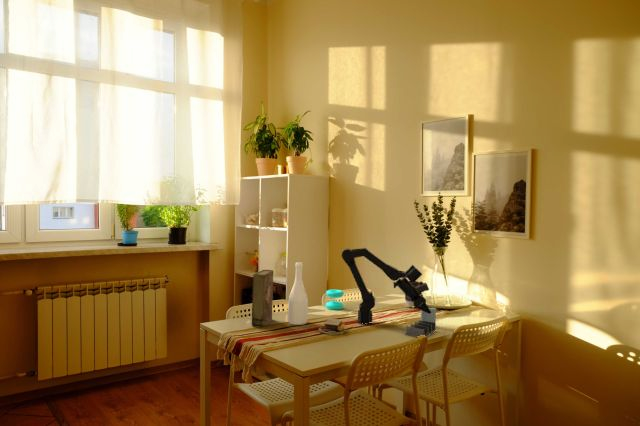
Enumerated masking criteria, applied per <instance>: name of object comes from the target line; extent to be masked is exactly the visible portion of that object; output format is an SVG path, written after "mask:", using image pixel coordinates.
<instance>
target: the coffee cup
mask: <svg viewBox="0 0 640 426" xmlns="http://www.w3.org/2000/svg"><path fill="white" fill-rule="evenodd" d="M408 281H409V282H410V283H411V284H412V285H414V286H415V287H416V286H418V285H419V282H420V281H417V280H416V281H415V282H414V281H413V282H411V281H410V280H408ZM404 300H405V306H406V305H409V306H414V305H413V302H412V301H411V300H410V299H409V298H408V297H407V296H406V295H405V294H404Z"/></svg>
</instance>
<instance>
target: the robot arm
mask: <svg viewBox="0 0 640 426" xmlns="http://www.w3.org/2000/svg"><path fill="white" fill-rule="evenodd" d="M361 257H364V258H365V259H367V260H368V261H369V262H371V263H372V264H373V265H375V266H376V267H378V268H379V269H380V270H381V271H382V272H383V273H384V274H385V275H386V276H387V277H388V278H389V279H390V280H391V281H393V282H392V284H393V289H396V288H397V287H398V289H400V290H401V291H402V292H403V294H404V296H405V295H406V296H407V297H408V298H409V299H410V300H411V301H412V302H413V305H414V306H415V307H416V308H415V309H417V310H420V311H421V310H422V311H424V312H426V313H429V314H430V313H431V311H430V310H429V308H430V307H428V305H427V299H426V298H425V297H424V295H423V292H428V291H429V290H430V288H429V285H428V284H427V282H423V281H418V282H419V285H418V286H416V287H415V286H414V285H412V284H411V283H410V282H409V281H411V282H413V281H414V282H415V281H417V280H418V279H419V278H420V277H422V276H423V273H422V272H421V271H420V270H419V269H418V268H417V267H416V266H415V265H414V264H411V265H410V267H409V268H407V270H406V271H404V270H399V269H398V268H396V267H395V266H393V265H391V264H388V263H386V262H385V261H383V260H382V259H381V258H379V257H378V256H377V255H375V254H374V253H372V251H370V250H369V249H368V248H366V247H362V248H353V249H351V248H349V247H348V248H344V249H343V250H342V252H341V258H342V260H343V261H344V263H345V264H346V265H347V267H348V269H349V270H350V272H351V274H352V277H353V279H354V281H355V283H356V285H357V287H358V290H359V292H360V295H361V300H362V302H361V303H359V305H358V306H359V307H358V308H359V310H357V320H356V321H357V322H356V323H358V322H359V323H358V324H360V323H361V324H360V325H366V324H365V323H369V322H373V313H372V309H374V308H375V306H376V297H375V296H374V293H373V291H372V290H371V291H370V290H369V288H367V285H366V284H365V283H366V282H365V281H364V279H363V277H362V274H361V272H360V270H359V268H358V266H357V263H356V259H357V258H361ZM355 258H356V259H355ZM362 323H363V324H362Z"/></svg>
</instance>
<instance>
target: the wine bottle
mask: <svg viewBox="0 0 640 426" xmlns="http://www.w3.org/2000/svg"><path fill="white" fill-rule="evenodd" d="M303 267H304V264H303V262H301V261H300V262H299V261H298V262H295V276H294V277H295V278H294V282H293V285H292V287H291V291H290V293H289V296H288V305H287V306H288V307H287V308H288V309H287V310H288V311H287V321H288V324H290V325H293V326H294V325H295V326H302V325H305V324H307V322H308V309H309V307H308V306H309V305H308V303H309V300H308V295H307V292H306V288H305V285H304V282H303Z"/></svg>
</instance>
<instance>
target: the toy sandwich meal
mask: <svg viewBox="0 0 640 426" xmlns="http://www.w3.org/2000/svg"><path fill="white" fill-rule="evenodd" d="M342 322H343V321H342V320H341V319H338V318H337V319H336V318H326V321H325V322H324V326H321V327H319V328H318V331H319V332H320V333H321V332H322V334H324V333H325V334H324V335H329V334H332V335H331V336H333V334H334V335H336V336H338V335H342V334H344V333H346V328H345V325H346V324H345V323H342Z"/></svg>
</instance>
